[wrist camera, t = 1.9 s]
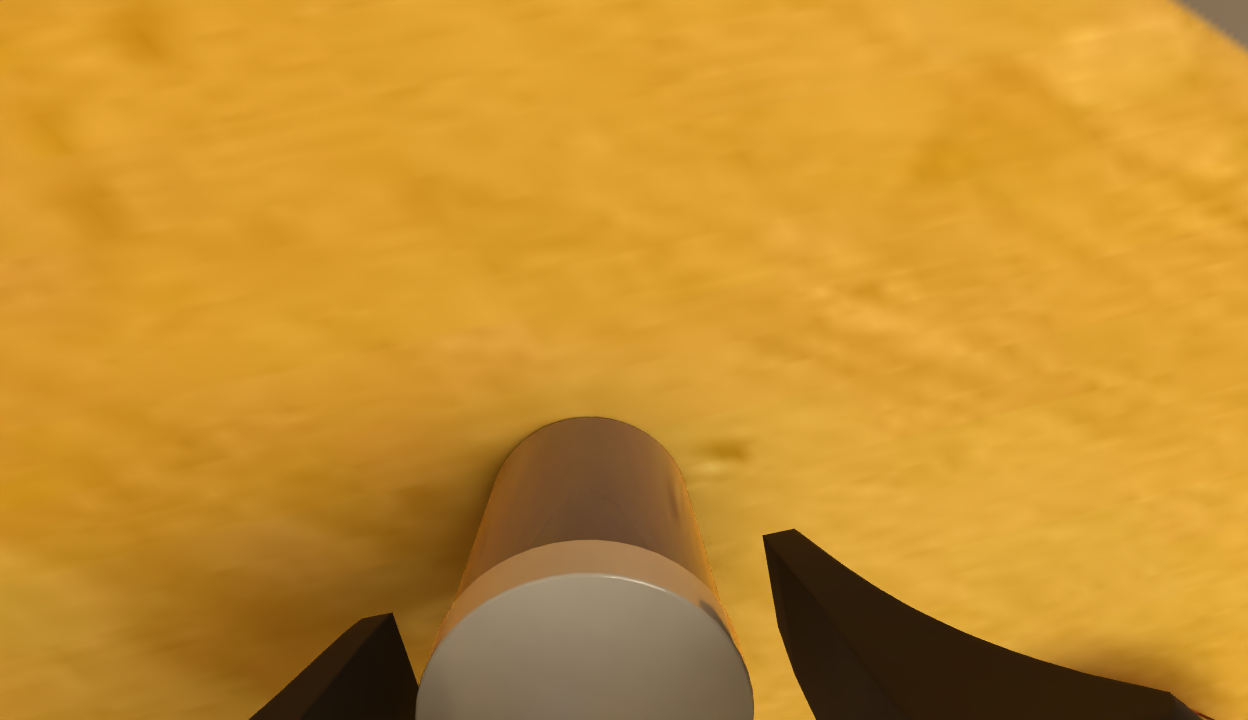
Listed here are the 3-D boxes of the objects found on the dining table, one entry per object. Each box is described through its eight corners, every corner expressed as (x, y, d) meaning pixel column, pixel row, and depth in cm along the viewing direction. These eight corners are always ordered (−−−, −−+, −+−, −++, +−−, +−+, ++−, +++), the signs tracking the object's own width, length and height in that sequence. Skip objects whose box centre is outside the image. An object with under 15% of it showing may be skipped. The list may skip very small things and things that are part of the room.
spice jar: (651, 619, 18) (685, 885, 11) (463, 567, 17) (377, 815, 10) (721, 448, 17) (807, 628, 10) (521, 385, 16) (468, 531, 9)
